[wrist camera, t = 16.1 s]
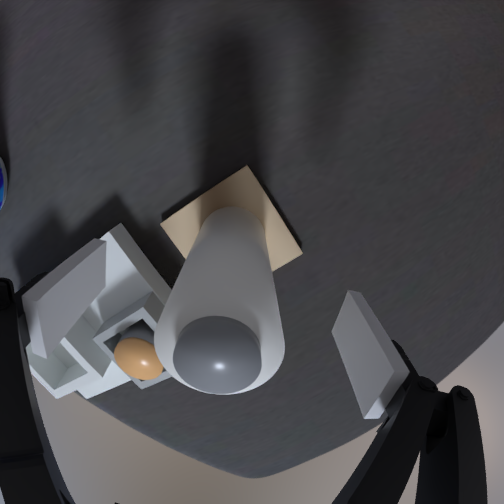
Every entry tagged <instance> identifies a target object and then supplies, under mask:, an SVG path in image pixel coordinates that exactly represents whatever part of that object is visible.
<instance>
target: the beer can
mask: <svg viewBox="0 0 504 504" xmlns="http://www.w3.org/2000/svg"><path fill="white" fill-rule="evenodd" d="M6 194H7V173H6V168H5V165H4V163H3V160H2V159H1V157H0V210H1V208H2V206H3V204H4V202H5V199H6Z"/></svg>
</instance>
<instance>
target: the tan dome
mask: <svg viewBox="0 0 504 504" xmlns="http://www.w3.org/2000/svg"><path fill="white" fill-rule="evenodd" d="M154 333H155V332H154V331H153V330H152V329H151V328H150V326H149V325H148V324H147V323H146V322H145V321H144V320H143V319H141V320H139V321H137V322H136V323H134V324H132V325H131V326H129V327H127V328H126V330H125V332H124V333H123V335H122V337H121V339H120V340H119V342H118V344H117V346H116V348H115V350H114V358H115V361H116V363H117V364H118V366H119V367H120V368H121V369H122V370H123V371H124V372H125V373H127V374H128V375H130V376H132V377H134V378H137V379H141V380H151V379H155V378H157V377H158V376H159V375H160V374H161V373H162V370H163V365H162V364H161V362H160V360H159V359H158V356H157V354H156V351H155V347H154Z"/></svg>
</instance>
